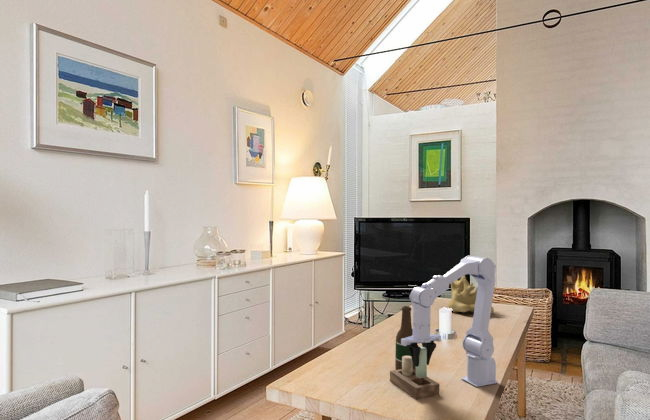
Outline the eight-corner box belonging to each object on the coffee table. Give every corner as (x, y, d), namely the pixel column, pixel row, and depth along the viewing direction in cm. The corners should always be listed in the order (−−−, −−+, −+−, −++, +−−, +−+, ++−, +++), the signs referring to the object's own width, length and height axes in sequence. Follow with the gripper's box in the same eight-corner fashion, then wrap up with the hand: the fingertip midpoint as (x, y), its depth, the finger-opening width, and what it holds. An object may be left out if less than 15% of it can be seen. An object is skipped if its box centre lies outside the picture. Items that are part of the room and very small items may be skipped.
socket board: (411, 377, 161) (411, 367, 161) (439, 394, 146) (439, 384, 146) (389, 380, 157) (389, 370, 157) (416, 399, 143) (416, 388, 143)
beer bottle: (413, 367, 171) (414, 304, 171) (418, 374, 163) (419, 309, 163) (393, 367, 171) (394, 304, 171) (397, 374, 163) (398, 309, 163)
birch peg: (408, 380, 158) (408, 355, 158) (414, 384, 155) (414, 358, 155) (399, 382, 157) (400, 356, 156) (405, 385, 153) (405, 359, 153)
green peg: (422, 372, 150) (422, 346, 150) (428, 376, 147) (429, 349, 147) (413, 374, 149) (413, 347, 149) (420, 378, 146) (420, 350, 146)
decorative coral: (432, 288, 273) (466, 263, 269) (452, 313, 277) (486, 289, 274) (444, 307, 248) (481, 280, 245) (466, 334, 252) (503, 308, 249)
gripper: (409, 329, 141) (409, 371, 142) (447, 324, 147) (446, 365, 147) (397, 323, 148) (397, 364, 148) (433, 319, 154) (433, 359, 154)
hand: (420, 364), depth 148 cm, fingers closed on green peg, 4 cm apart
